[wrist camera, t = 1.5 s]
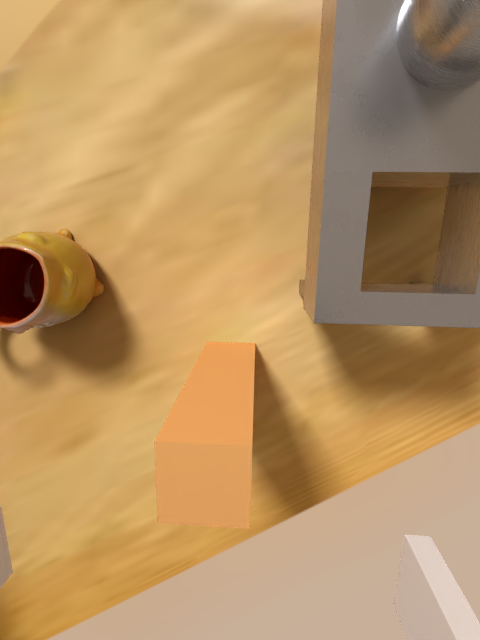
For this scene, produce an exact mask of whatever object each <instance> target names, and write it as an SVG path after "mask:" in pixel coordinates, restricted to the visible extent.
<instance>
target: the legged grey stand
mask: <svg viewBox="0 0 480 640" xmlns="http://www.w3.org/2000/svg"><path fill="white" fill-rule="evenodd" d="M371 187H443V188H448V190H447V197H446V204H445V210H444V217H443V223H442V230H441V236H440V243H439V249H438V256H437V263H436V269H435V276H434V282H433V285H432V284H427V283H416V282H410V284H383V283H361V280H362V270H363V261H364V251H365V241H366V231H367V221H368V212H369V202H370V192H371ZM299 293H300V294H301V296H302V297H303V298H304V310H305V311H306V313H307V314H308V315H309V317H310V318H311V320H312V321H313V322H314V323H330V324H364V325H397V326H431V327H464V328H480V0H323V7H322V23H321V38H320V54H319V70H318V86H317V102H316V118H315V134H314V149H313V165H312V181H311V197H310V213H309V229H308V245H307V260H306V276H305V280H300V284H299Z"/></svg>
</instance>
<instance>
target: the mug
mask: <svg viewBox="0 0 480 640" xmlns="http://www.w3.org/2000/svg"><path fill="white" fill-rule="evenodd" d="M103 292H104V285H103V283H102V282H100V281H99V280H98V279H97V277H96V273H95V268H94V265H93V262H92V260H91V258H90V256H89V255H88V254H87V252H86V251H85V250H84V249H83V248H82V247H81V246H80V245H79V244H77V243H76V242H75V241H73V240H72V235H71V233H70V231H68V230H66V229H62V230H61V231H59V232H58V233H57V234H56V233H50V232H23V233H20V234H16V235H13V236H10V237H8V238H5V239H3V240H2V241H0V328H5V329H7V330H11V331H14V332H15V333H17V334H21V333H23V332H25V331H26V330H29V329H30V328H34V327H38V328H40V329H41V328H43V327H50V326H52V325H56V324H59V323H63V322H65V321H68V320H70V319H72V318H74V317H75V316H77V315H78V314H80V313H81V312H82V311H83V310H84V309H85V308H86V307H87V306H88V304H89V303H90V302H91V300H92V298H93V297H95V296H99V295H101V294H102V293H103Z"/></svg>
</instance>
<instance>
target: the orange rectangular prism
mask: <svg viewBox="0 0 480 640" xmlns="http://www.w3.org/2000/svg"><path fill="white" fill-rule="evenodd" d="M254 372H255V343H224V342H207V343H206V345H205V346H204V348H203V350H202V352H201V354H200V356H199V358H198V360H197V362H196V364H195V365H194V367H193V369H192V371H191V373H190V375H189V377H188V379H187V381H186V382H185V384H184V386H183V388H182V390H181V392H180V394H179V396H178V398H177V400H176V401H175V403H174V405H173V407H172V409H171V411H170V413H169V415H168V417H167V418H166V420H165V422H164V424H163V426H162V428H161V430H160V432H159V434H158V436H157V437H156V439H155V441H154V445H155V466H156V488H157V509H158V523H164V524H181V525H197V526H214V527H230V528H246V529H250V507H251V474H252V440H253V406H254Z"/></svg>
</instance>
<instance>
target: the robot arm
mask: <svg viewBox="0 0 480 640" xmlns="http://www.w3.org/2000/svg"><path fill="white" fill-rule="evenodd" d="M12 572H13V571H12V565H11V560H10V554H9V548H8V543H7V537H6V532H5V526H4V520H3V515H2V509H1V506H0V588H1V587H2V586H3V584H4V583H5V582H6V580H7V579H8V578H9V576H10V575H11V574H12ZM394 606H395V609H396V612H397V614H398V617H399V620H400V622H401V625H402V628H403V631H404V633H405V636H406V639H407V640H480V622H479V621H478V619H477V617H476V615H475V614H474V612H473V610H472V608H471V606H470V605H469V603H468V601H467V600H466V598H465V596H464V594H463V593H462V591H461V589H460V587H459V586H458V584H457V582H456V581H455V579H454V577H453V575H452V573H451V572H450V570H449V568H448V566H447V565H446V563H445V561H444V560H443V558H442V556H441V554H440V553H439V551H438V549H437V547H436V546H435V544H434V542H433V540H432V539H431V537H430V536H416V535H405V536H404V542H403V548H402V555H401V560H400V567H399V573H398V579H397V585H396V591H395V597H394Z"/></svg>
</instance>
